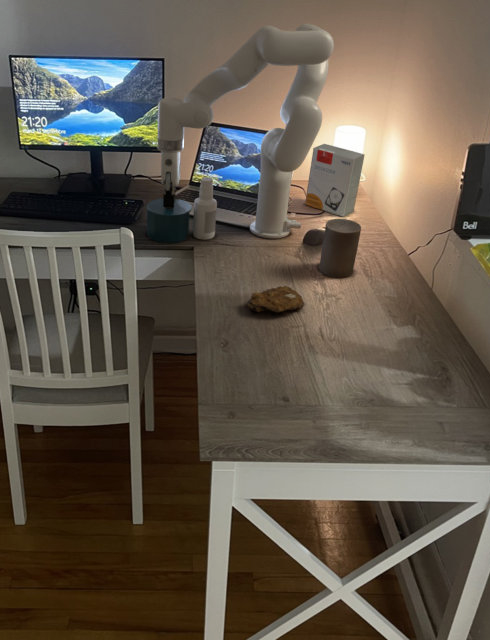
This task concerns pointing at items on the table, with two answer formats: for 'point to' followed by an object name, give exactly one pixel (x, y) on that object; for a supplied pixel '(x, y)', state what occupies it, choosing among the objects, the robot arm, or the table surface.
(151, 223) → the tin
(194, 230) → the spray bottle
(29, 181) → the table surface
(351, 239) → the pillar candle
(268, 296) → the decorative rock
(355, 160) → the hard drive box
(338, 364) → the table surface
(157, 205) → the tin lid
